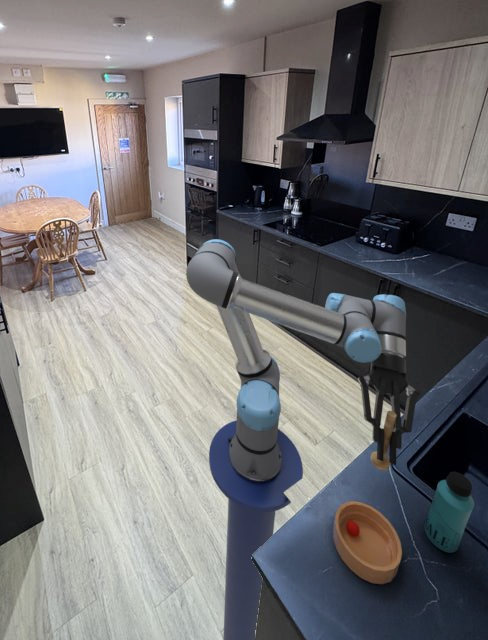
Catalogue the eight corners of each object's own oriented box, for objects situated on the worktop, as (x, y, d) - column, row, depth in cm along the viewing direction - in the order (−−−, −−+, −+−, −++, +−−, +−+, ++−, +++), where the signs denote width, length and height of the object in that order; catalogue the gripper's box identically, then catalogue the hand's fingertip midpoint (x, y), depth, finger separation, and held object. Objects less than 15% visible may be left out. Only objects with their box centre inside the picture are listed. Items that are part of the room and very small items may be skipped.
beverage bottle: (455, 536, 75) (478, 474, 69) (458, 566, 70) (483, 502, 63) (421, 518, 78) (440, 458, 72) (422, 546, 73) (442, 484, 67)
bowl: (320, 535, 75) (323, 521, 74) (354, 504, 81) (357, 490, 80) (374, 601, 65) (379, 586, 63) (409, 560, 71) (414, 545, 69)
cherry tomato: (342, 530, 76) (344, 522, 75) (350, 523, 77) (351, 515, 76) (353, 542, 73) (355, 534, 73) (361, 535, 75) (363, 526, 74)
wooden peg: (367, 459, 78) (378, 411, 73) (376, 451, 80) (387, 404, 75) (383, 474, 75) (396, 424, 70) (392, 465, 77) (406, 416, 72)
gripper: (417, 364, 82) (419, 472, 73) (353, 351, 88) (347, 449, 78) (428, 360, 76) (431, 477, 67) (358, 346, 81) (352, 451, 72)
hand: (386, 461), depth 72 cm, fingers closed on wooden peg, 2 cm apart
